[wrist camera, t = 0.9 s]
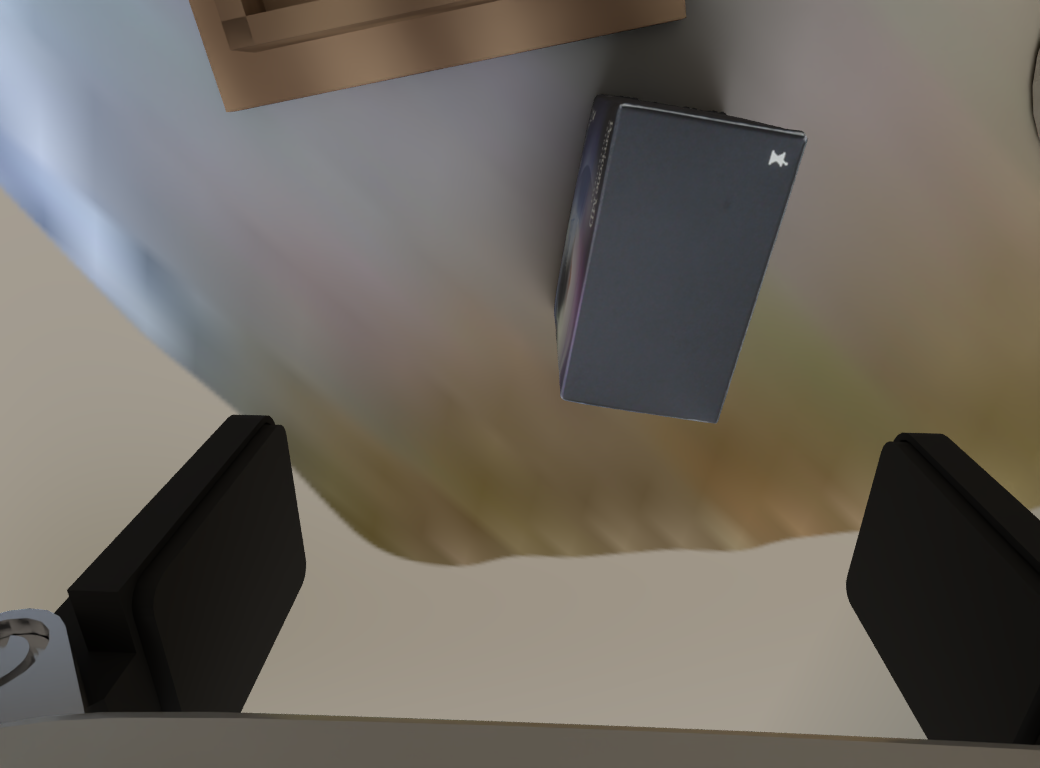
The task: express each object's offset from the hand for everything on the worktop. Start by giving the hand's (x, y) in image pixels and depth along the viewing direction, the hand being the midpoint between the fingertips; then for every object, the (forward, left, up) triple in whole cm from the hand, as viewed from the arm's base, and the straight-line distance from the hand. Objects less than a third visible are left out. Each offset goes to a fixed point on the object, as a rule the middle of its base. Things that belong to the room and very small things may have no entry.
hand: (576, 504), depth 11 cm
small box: (-4, +1, -24) cm, 24 cm away
